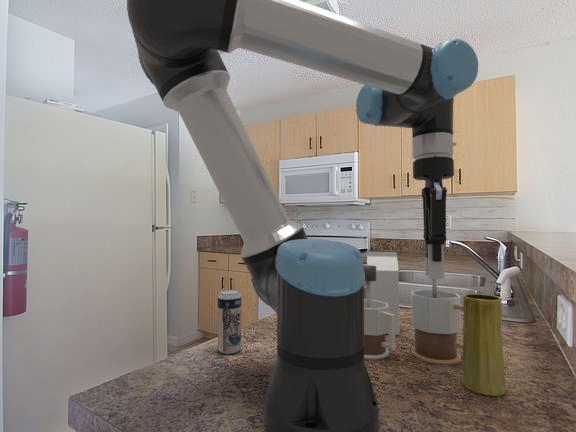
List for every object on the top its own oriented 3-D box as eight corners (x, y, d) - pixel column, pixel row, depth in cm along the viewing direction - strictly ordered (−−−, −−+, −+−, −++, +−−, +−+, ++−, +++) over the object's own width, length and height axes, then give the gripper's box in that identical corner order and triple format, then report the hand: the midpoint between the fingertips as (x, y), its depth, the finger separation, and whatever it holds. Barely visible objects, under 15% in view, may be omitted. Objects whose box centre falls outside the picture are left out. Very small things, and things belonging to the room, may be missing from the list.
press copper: (456, 374, 58) (455, 304, 58) (402, 352, 68) (401, 292, 69) (486, 364, 63) (484, 298, 63) (430, 344, 73) (430, 288, 73)
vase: (514, 398, 50) (512, 301, 51) (469, 395, 51) (467, 300, 52) (496, 379, 56) (494, 293, 57) (456, 377, 57) (455, 292, 58)
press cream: (378, 368, 61) (377, 271, 61) (341, 349, 70) (340, 265, 70) (408, 359, 65) (407, 268, 65) (369, 342, 74) (368, 263, 74)
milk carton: (399, 335, 79) (398, 253, 79) (367, 333, 80) (367, 253, 81) (396, 326, 86) (395, 251, 86) (367, 325, 87) (366, 250, 88)
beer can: (227, 357, 66) (227, 295, 66) (212, 351, 69) (213, 292, 70) (246, 350, 70) (246, 291, 70) (231, 344, 73) (231, 288, 73)
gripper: (463, 148, 59) (465, 284, 58) (445, 164, 75) (447, 271, 74) (417, 151, 61) (419, 283, 60) (409, 166, 77) (410, 270, 76)
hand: (434, 276), depth 67 cm, fingers closed on plunger, 3 cm apart
